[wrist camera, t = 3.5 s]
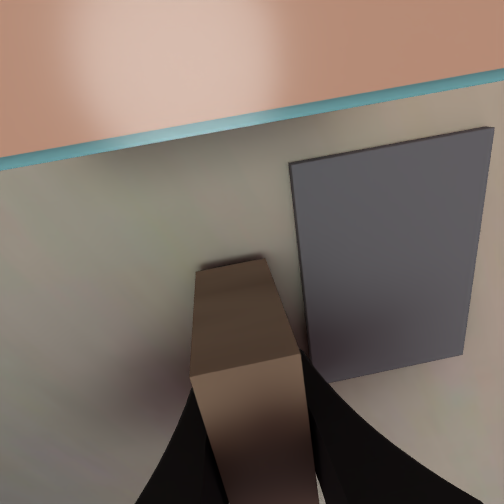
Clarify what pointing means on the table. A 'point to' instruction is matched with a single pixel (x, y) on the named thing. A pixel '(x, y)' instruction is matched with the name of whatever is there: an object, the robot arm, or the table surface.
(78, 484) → the table surface
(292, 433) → the bronze rectangular prism
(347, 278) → the mat
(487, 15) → the picture frame
